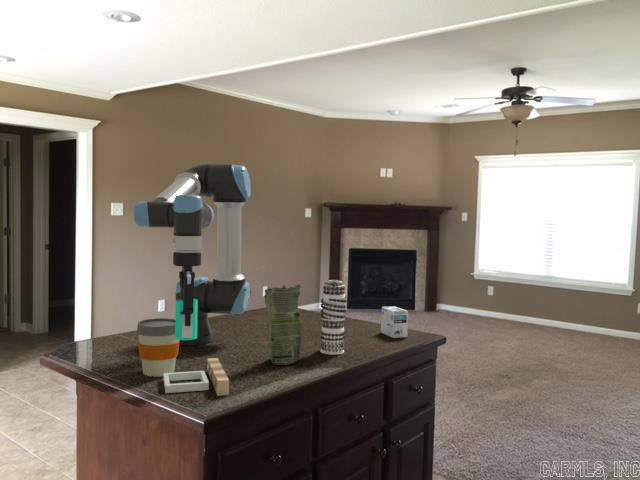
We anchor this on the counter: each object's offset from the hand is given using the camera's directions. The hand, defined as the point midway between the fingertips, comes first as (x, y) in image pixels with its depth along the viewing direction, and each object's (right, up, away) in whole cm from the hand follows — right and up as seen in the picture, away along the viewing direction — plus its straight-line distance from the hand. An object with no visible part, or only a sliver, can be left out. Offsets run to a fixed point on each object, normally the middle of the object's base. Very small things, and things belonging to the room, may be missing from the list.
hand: (186, 334), depth 153 cm
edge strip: (+8, -14, +4) cm, 17 cm away
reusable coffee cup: (-11, -13, +12) cm, 21 cm away
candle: (0, -1, 0) cm, 1 cm away
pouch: (+25, -13, +27) cm, 39 cm away
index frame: (0, -14, +1) cm, 14 cm away
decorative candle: (+41, -13, +41) cm, 60 cm away
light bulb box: (+67, -12, +70) cm, 97 cm away
